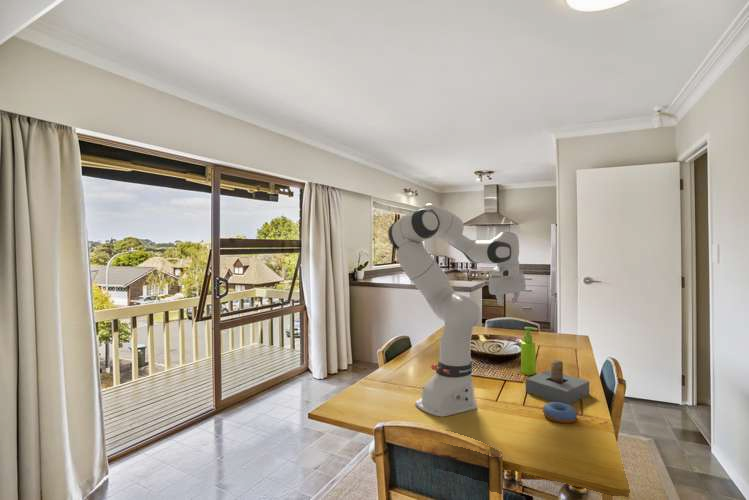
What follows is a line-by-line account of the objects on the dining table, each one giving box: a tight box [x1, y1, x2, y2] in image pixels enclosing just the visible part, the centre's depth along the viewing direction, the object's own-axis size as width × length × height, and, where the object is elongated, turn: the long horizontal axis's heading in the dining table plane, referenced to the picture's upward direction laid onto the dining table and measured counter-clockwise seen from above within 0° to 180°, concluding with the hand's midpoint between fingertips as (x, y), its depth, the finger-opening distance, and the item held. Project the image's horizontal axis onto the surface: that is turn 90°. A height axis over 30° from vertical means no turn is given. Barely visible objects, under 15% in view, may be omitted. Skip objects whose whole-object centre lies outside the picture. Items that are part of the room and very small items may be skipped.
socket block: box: [525, 369, 590, 406], centre depth 145 cm, size 16×16×5 cm
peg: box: [550, 359, 564, 384], centre depth 145 cm, size 4×4×12 cm
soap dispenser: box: [520, 326, 539, 376], centre depth 167 cm, size 6×7×20 cm
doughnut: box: [542, 401, 578, 425], centre depth 125 cm, size 10×10×5 cm
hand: (507, 303), depth 161 cm, fingers open, 8 cm apart
